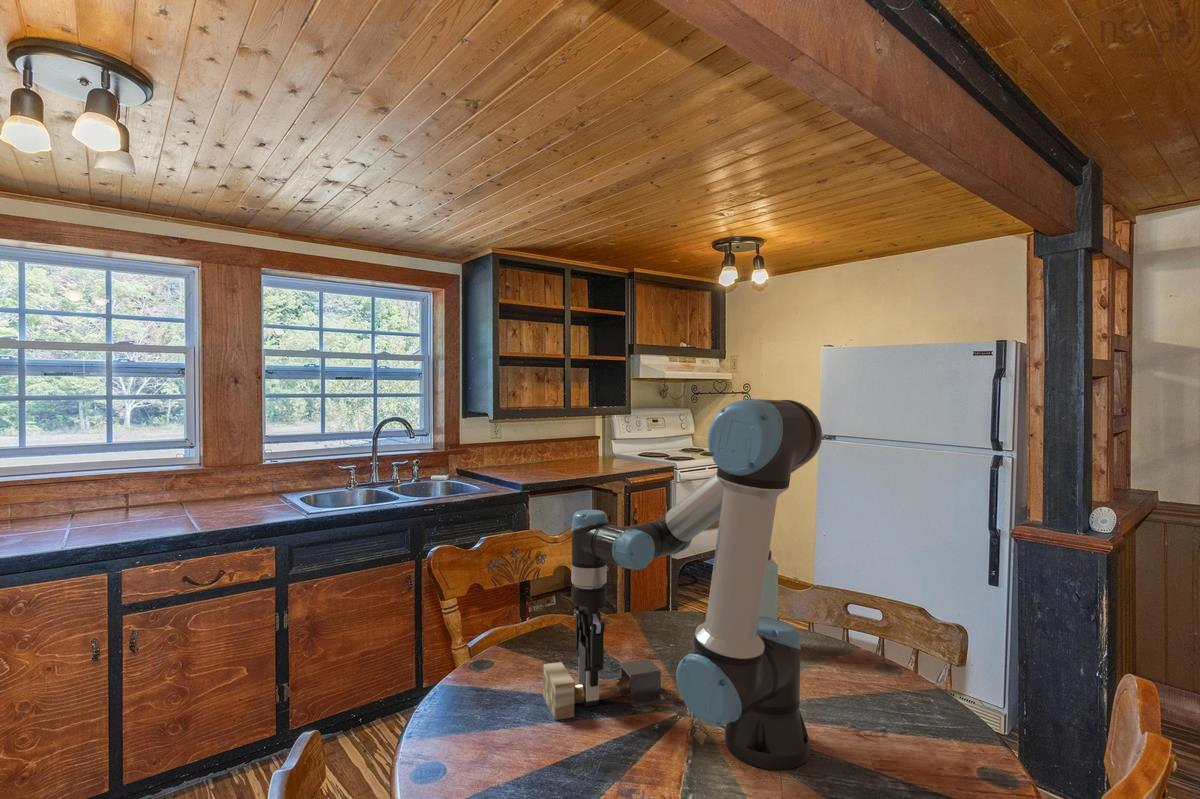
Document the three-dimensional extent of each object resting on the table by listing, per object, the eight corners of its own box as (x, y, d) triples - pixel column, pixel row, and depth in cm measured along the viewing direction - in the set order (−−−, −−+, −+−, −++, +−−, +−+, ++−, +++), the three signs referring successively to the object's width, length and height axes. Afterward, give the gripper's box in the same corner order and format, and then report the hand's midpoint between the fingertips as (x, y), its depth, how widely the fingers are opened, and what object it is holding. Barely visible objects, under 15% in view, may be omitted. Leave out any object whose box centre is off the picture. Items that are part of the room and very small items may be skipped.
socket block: (574, 716, 121) (574, 682, 121) (555, 720, 120) (555, 685, 120) (561, 694, 130) (561, 661, 131) (543, 696, 129) (543, 664, 129)
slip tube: (646, 696, 129) (647, 640, 129) (561, 710, 123) (562, 651, 123) (638, 686, 134) (639, 632, 134) (556, 699, 127) (556, 643, 127)
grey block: (665, 702, 127) (665, 675, 127) (634, 707, 125) (635, 680, 125) (644, 679, 137) (645, 654, 138) (616, 684, 135) (616, 658, 135)
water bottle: (783, 654, 152) (783, 555, 152) (743, 653, 152) (743, 555, 152) (772, 638, 162) (772, 546, 162) (735, 638, 162) (735, 545, 162)
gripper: (620, 594, 120) (619, 711, 120) (593, 571, 137) (592, 673, 137) (584, 598, 118) (583, 717, 118) (561, 574, 135) (560, 678, 134)
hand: (588, 693), depth 127 cm, fingers closed on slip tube, 5 cm apart
